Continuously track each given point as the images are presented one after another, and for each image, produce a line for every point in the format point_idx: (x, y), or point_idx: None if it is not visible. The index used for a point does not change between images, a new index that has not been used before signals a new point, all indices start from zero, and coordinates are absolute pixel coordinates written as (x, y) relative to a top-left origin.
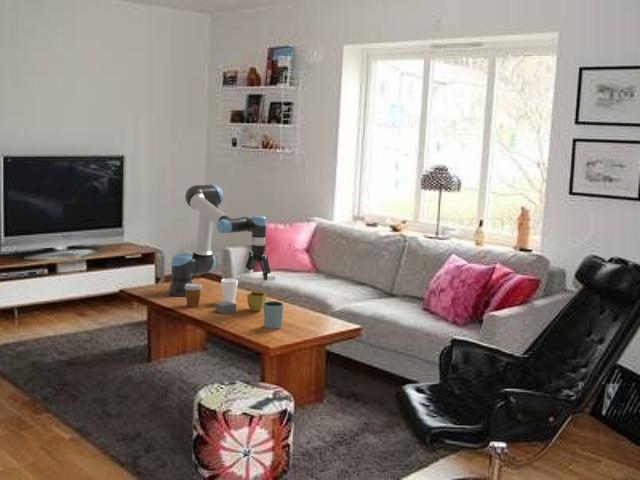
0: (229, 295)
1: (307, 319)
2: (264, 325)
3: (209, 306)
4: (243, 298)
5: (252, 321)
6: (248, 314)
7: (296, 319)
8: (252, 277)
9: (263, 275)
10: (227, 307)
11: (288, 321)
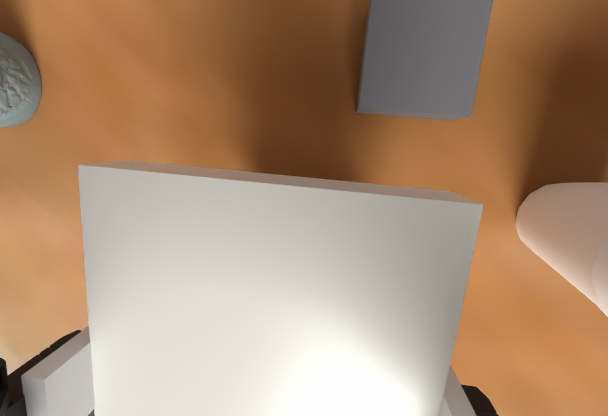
0: (562, 204)
1: (36, 306)
2: (15, 40)
3: (580, 46)
4: (566, 354)
5: (130, 52)
6: (260, 133)
7: (58, 268)
8: (150, 217)
9: (42, 368)
10: (367, 31)
11: (46, 212)
